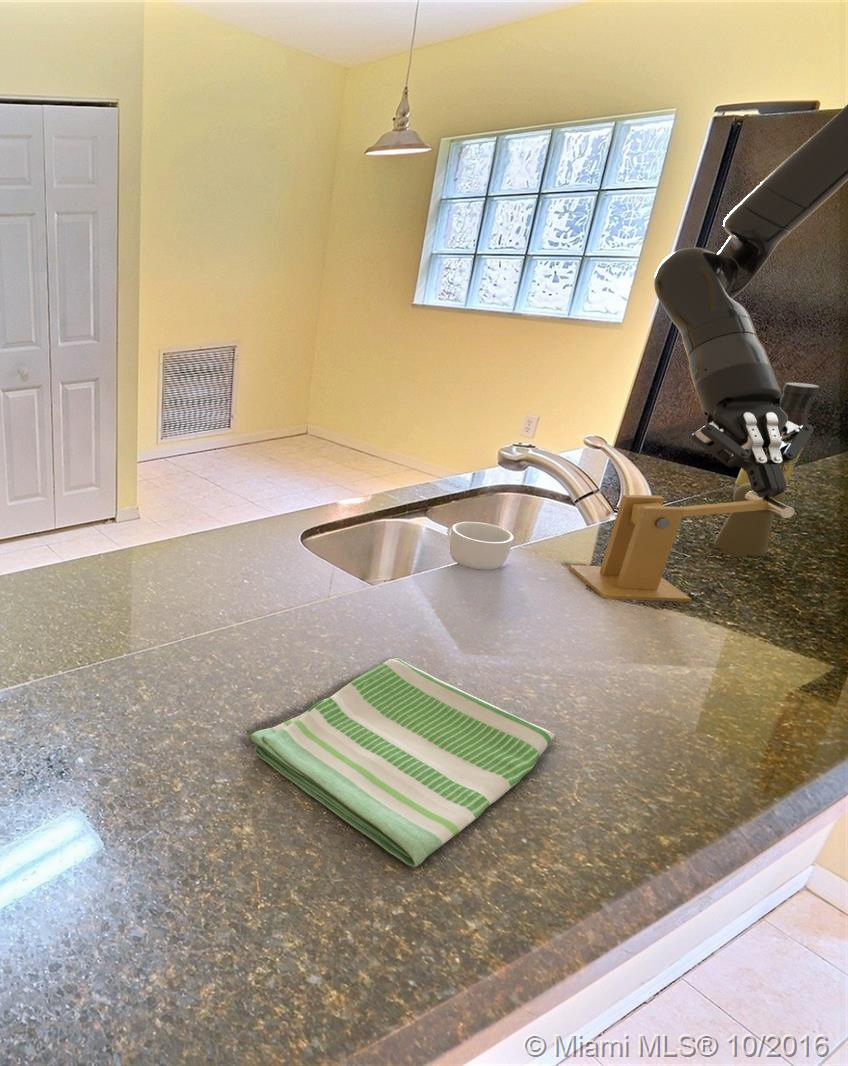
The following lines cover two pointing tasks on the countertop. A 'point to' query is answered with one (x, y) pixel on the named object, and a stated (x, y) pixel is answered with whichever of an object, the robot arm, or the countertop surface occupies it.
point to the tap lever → (729, 507)
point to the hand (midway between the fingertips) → (772, 494)
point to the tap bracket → (637, 554)
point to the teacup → (479, 545)
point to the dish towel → (404, 756)
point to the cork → (746, 529)
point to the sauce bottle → (790, 419)
